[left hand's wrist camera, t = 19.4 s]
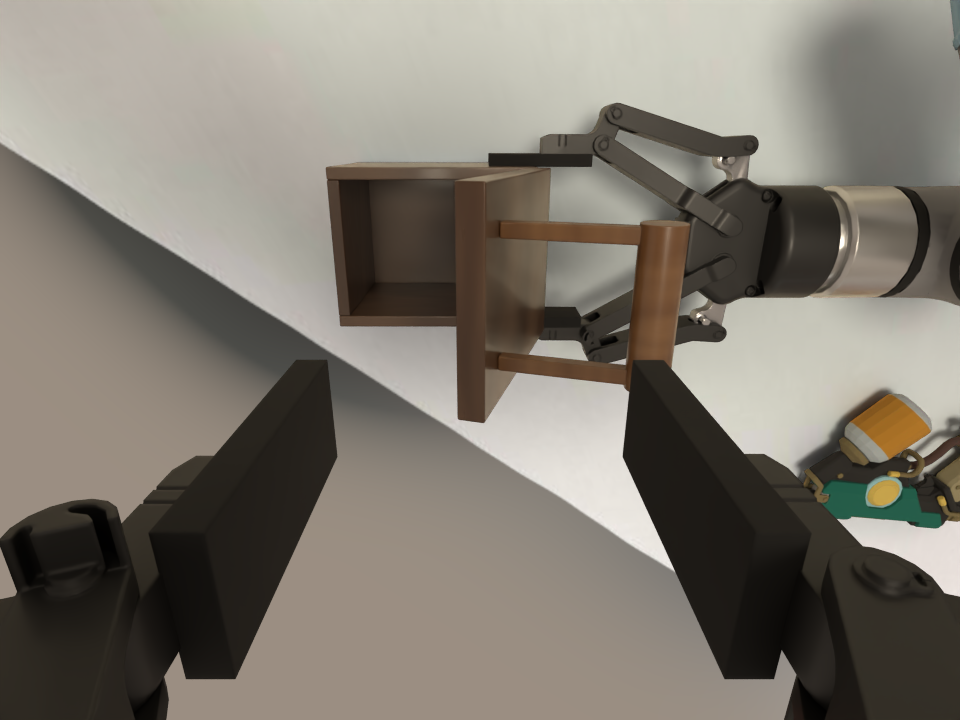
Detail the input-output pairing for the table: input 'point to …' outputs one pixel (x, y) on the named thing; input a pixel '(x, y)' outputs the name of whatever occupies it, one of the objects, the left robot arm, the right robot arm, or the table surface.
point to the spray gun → (887, 469)
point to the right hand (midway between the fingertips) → (488, 242)
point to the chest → (397, 240)
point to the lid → (522, 282)
